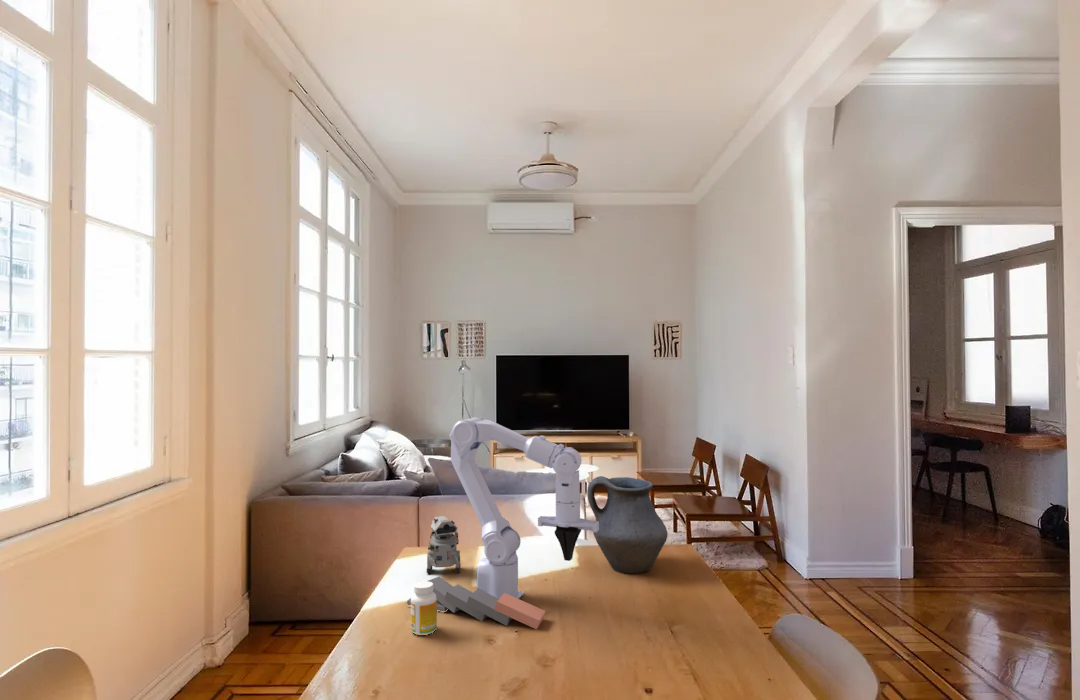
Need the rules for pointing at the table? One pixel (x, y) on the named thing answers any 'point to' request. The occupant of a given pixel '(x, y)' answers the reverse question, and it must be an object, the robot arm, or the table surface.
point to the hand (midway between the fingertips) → (568, 559)
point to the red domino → (520, 610)
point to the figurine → (443, 545)
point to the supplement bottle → (423, 609)
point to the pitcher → (627, 524)
